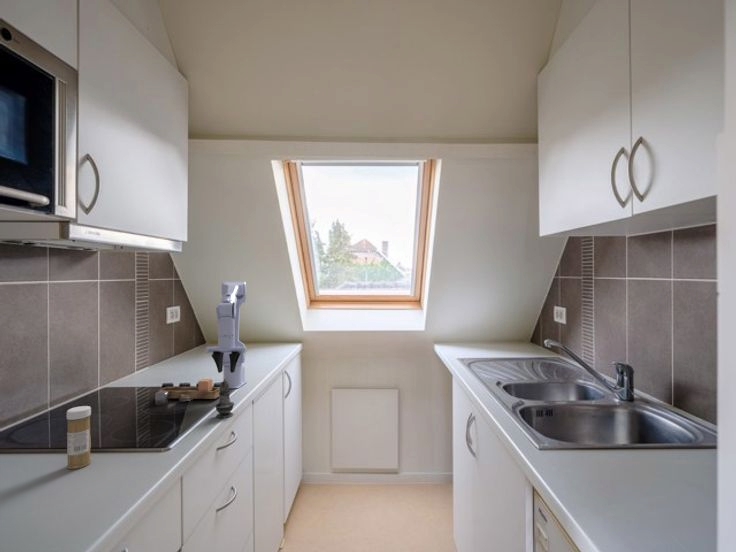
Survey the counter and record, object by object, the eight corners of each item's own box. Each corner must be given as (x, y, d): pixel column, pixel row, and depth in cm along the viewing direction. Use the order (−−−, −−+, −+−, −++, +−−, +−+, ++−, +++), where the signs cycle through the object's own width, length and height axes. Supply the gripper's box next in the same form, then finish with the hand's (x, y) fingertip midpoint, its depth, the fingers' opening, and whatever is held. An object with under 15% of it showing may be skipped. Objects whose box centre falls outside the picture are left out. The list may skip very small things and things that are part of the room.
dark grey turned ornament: (237, 412, 124) (237, 376, 125) (229, 419, 119) (229, 380, 119) (220, 412, 125) (220, 376, 125) (211, 418, 119) (211, 380, 119)
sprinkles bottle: (92, 459, 92) (92, 404, 92) (88, 467, 88) (88, 409, 88) (69, 463, 90) (69, 406, 90) (63, 472, 86) (64, 412, 86)
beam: (155, 401, 137) (155, 391, 137) (166, 395, 144) (166, 386, 144) (214, 401, 136) (214, 392, 136) (222, 396, 143) (222, 386, 143)
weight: (159, 401, 137) (159, 390, 137) (170, 402, 136) (170, 390, 136) (152, 405, 133) (152, 394, 133) (163, 405, 132) (163, 394, 132)
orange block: (198, 392, 138) (198, 381, 138) (203, 389, 142) (203, 378, 142) (208, 392, 138) (208, 381, 138) (212, 389, 141) (212, 378, 141)
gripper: (201, 336, 136) (202, 374, 136) (241, 336, 135) (241, 374, 135) (211, 334, 143) (211, 370, 143) (248, 334, 142) (248, 370, 142)
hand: (226, 372), depth 139 cm, fingers open, 4 cm apart
